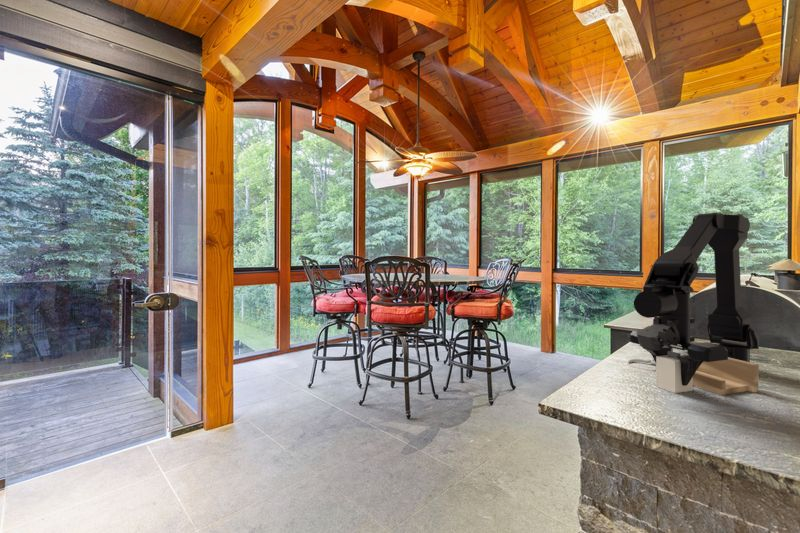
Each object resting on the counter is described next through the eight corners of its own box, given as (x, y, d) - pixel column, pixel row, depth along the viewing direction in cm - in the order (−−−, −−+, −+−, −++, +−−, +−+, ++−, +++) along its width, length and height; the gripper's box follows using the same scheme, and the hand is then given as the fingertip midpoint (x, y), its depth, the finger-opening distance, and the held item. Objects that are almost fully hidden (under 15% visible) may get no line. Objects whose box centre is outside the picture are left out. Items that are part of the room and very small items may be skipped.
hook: (692, 358, 106) (660, 384, 95) (655, 352, 114) (622, 374, 103) (690, 334, 105) (658, 356, 94) (653, 329, 113) (620, 349, 102)
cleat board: (693, 372, 95) (693, 348, 94) (758, 391, 81) (758, 364, 81) (664, 376, 92) (664, 352, 92) (726, 396, 79) (726, 368, 79)
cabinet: (673, 383, 87) (673, 349, 87) (692, 390, 83) (692, 354, 82) (656, 386, 86) (656, 351, 86) (675, 393, 81) (674, 356, 81)
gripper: (611, 309, 91) (611, 373, 91) (687, 323, 73) (687, 401, 73) (648, 307, 93) (648, 368, 94) (730, 319, 75) (729, 394, 76)
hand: (674, 381), depth 84 cm, fingers closed on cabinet, 4 cm apart
